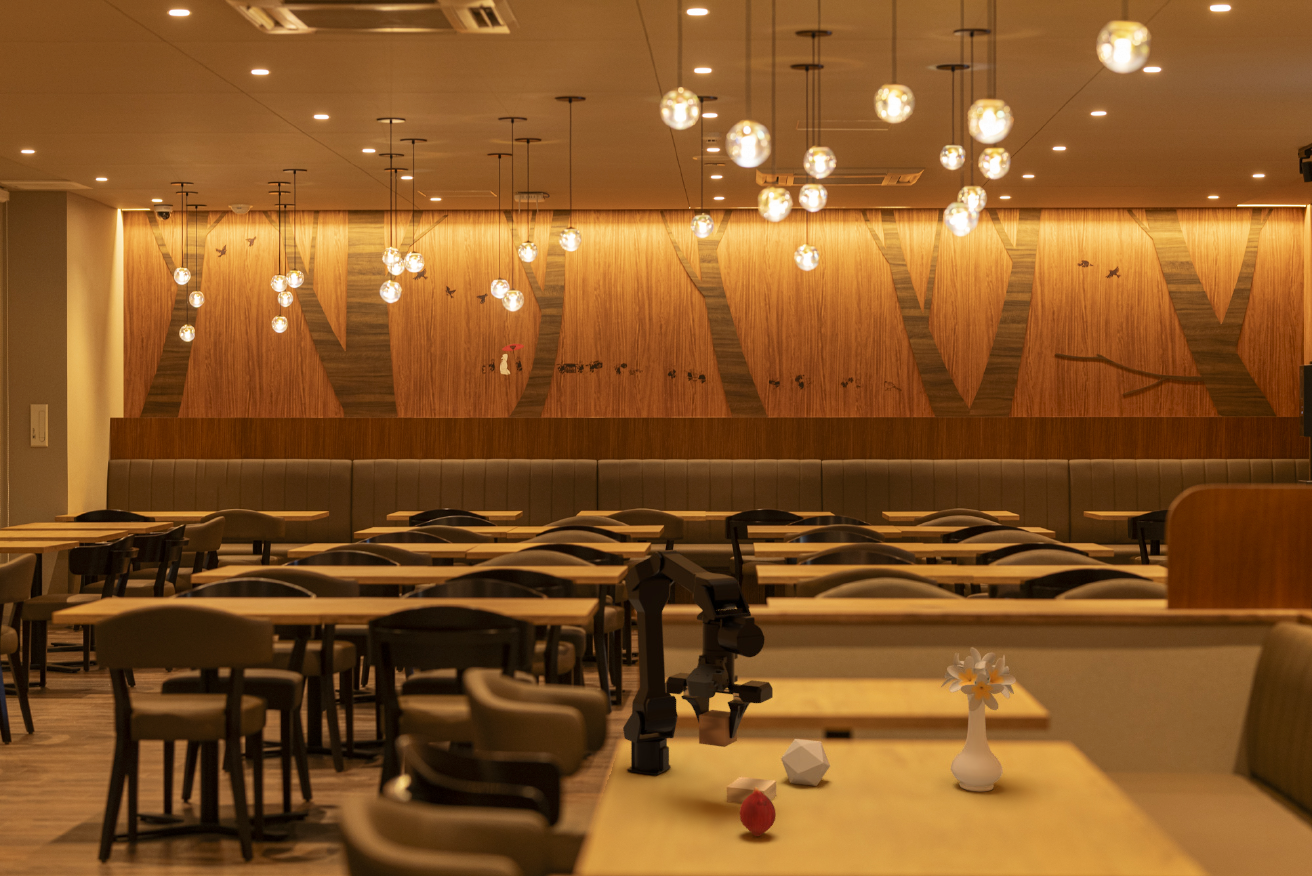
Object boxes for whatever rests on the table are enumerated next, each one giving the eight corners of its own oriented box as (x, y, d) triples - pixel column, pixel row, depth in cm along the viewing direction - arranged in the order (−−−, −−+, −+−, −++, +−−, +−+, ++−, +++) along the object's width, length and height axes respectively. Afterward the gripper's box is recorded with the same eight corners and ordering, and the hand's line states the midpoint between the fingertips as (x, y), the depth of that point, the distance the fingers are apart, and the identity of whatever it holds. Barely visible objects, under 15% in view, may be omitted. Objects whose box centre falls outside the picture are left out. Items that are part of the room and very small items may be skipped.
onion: (779, 832, 213) (779, 784, 213) (770, 843, 207) (770, 794, 207) (744, 829, 215) (744, 781, 214) (735, 839, 209) (735, 790, 209)
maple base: (726, 803, 230) (726, 786, 230) (739, 793, 236) (739, 776, 236) (764, 808, 227) (764, 791, 227) (776, 797, 234) (776, 780, 234)
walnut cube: (699, 743, 228) (699, 715, 228) (711, 737, 232) (711, 709, 232) (724, 747, 225) (724, 718, 225) (736, 740, 230) (736, 712, 230)
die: (835, 783, 244) (814, 736, 248) (837, 771, 236) (815, 724, 241) (796, 800, 243) (775, 753, 248) (796, 789, 236) (775, 740, 240)
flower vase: (958, 803, 229) (958, 663, 228) (932, 774, 247) (932, 644, 247) (1030, 802, 229) (1031, 662, 229) (999, 774, 248) (999, 644, 247)
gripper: (650, 651, 226) (650, 739, 226) (747, 660, 217) (747, 753, 217) (679, 641, 236) (679, 726, 236) (773, 650, 227) (773, 738, 227)
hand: (718, 736), depth 229 cm, fingers closed on walnut cube, 5 cm apart
